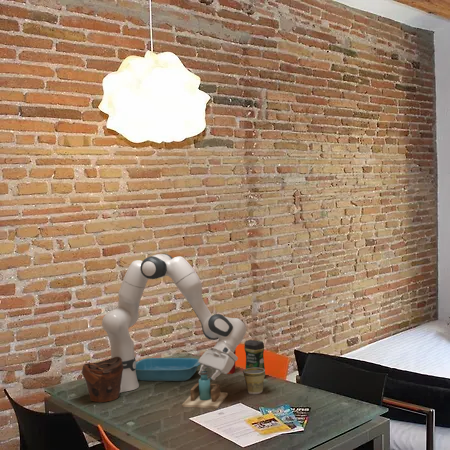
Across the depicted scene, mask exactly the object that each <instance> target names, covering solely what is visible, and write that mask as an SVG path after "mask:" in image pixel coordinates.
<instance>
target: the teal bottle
mask: <svg viewBox="0 0 450 450" xmlns="http://www.w3.org/2000/svg"><path fill="white" fill-rule="evenodd" d="M200 374H201V375H200V378H199V379H198V383H199V398H200V400H209V399H211V392H210V384H211V378H210V377H208V374H209V372H208V370H204V371H201V372H200Z"/></svg>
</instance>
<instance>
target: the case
mask: <svg viewBox="0 0 450 450" xmlns="http://www.w3.org/2000/svg"><path fill="white" fill-rule="evenodd" d="M122 372H123V363H122V359H121V358H120V357H114V358H111V357H110V358H109V359H105V360H102V361H99V362H89V363H88V362H87V363H84V364H83V365H82V370H81V375H82V376H83V378H84V380H85V383H86V387H87V391H88V394H89V399H90V401H91V402H93V403H94V402H95V403H104V402H110V401H114V400H117V399H118V398H119V397H120V386H121V379H122Z"/></svg>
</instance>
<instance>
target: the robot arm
mask: <svg viewBox="0 0 450 450" xmlns="http://www.w3.org/2000/svg"><path fill="white" fill-rule="evenodd" d="M165 276H167V277H169V278H170V279H171V280H172V281H173V283H174V285H175V286H176V288H177V289H178V290H179V292H180V293H181V294H182V296H183V297H184V298H185V300H186V301H187V302H188V304H189V305H190V307H191V308H192V310H193V312H194V313H195V315H196V317H197V318H198V320H199V322H200V325H201V328H202V329H201V330H202V335H203V336H204V337H205V338H207V339H208V340H211V341H212V340H213V341H216V340H217V342H216V343H215V345H214V346H213V347H211V348H208V349H206V350H205V351H204V352H203V354H202V355H201V356H200V357H199V358H198V360H199V363H200V369H199V371H198V373H197V374H199V376H201V374H200V372H201V371H206V369H207V368H208V369H210V370H212V371H214V373H213V374H211V375H210V376H209V379H210V380H212V381H215V380H216V378H217V377H219V376H220V375H221V374H224V375H228V374H227V373H229V371H230V370H231V369H232V367H233V365H234V363H235V364H236V362H237V361H238V359H239V357H238V356H237V355H236V354H234V352H235V351H236V349H237V347H238V346H239V345H240V344H241V342H242V341H243V339H244V337H245V335H246V334H247V325H246V324H245V322H244V321H243V320H241V319H240V318H238V317H229V316H225V315H222V314H221V313H214V314H212V313H211V311H210V309H209V307H208V306H207V304H206V303H205V301H204V298H203V283H202V281H201V278H200V276H199V274H198V273H197V272H196V270H195V269H194V267H193V266H192V265H191V264H190V262H188V261H187V259H186V258H184V257H183V256H180V255H179V256H178V255H177V256H175V257H172V256H171V255H170V254H168V253H158V254H157V253H156V254H153V255H150V256H147V257H146V258H144V259H143V260H139V259H138V260H137V259H136V260H133V261H132V262H131V263H130V264H129V266H128V268H127V270H126V272H125V274H124V277H123V278H122V282H121V285H120V287H119V290H118V293H117V295H118V301H117V302H118V303H117V306H116V308H114V309H112V310H110V311H108V312H107V313H106V314H105V315H104V316H103V317H102V320H101V326H102V329H103V330H104V331H105V332H106V334H107V337H108V339H109V340H108V341H109V344H110V359H111V358H114V357H120V358H121V359H122V363H123V372H122V379H121V386H120V393H125V392H130V391H133V390H136V389H138V388H139V387H140V383H139V381H138V379H137V376H136V357H135V342H134V340H133V339H132V337H131V336H130V335H131V334H130V331H129V328H131V327H133V326H134V325H136V323H137V322H138V320H139V317H140V312H139V308H140V304H141V300H142V296H143V294H144V291H145V289H146V286H147V283H148V280H156V279H160V278H163V277H165ZM234 361H235V362H234Z"/></svg>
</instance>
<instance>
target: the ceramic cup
mask: <svg viewBox="0 0 450 450" xmlns="http://www.w3.org/2000/svg"><path fill="white" fill-rule="evenodd" d="M242 372H243V373H242V374H243V376H244V377H243V378H244V380H245V384H246V385H245V386H246V391H247V392H248V394H249V395H259V394H261V393H263V391H264V380H265V377H266V368H265V369H263V368H247V369H246V368H245V369H243V371H242ZM264 376H265V377H264Z"/></svg>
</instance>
